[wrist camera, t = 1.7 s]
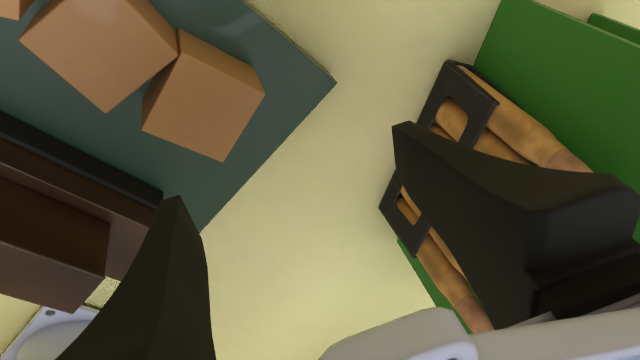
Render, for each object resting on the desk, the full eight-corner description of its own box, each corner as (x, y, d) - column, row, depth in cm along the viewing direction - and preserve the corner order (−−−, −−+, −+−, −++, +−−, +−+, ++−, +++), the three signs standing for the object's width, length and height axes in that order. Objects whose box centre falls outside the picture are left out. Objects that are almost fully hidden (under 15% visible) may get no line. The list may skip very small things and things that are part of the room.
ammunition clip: (446, 58, 26) (608, 179, 17) (472, 65, 27) (641, 183, 18) (377, 208, 31) (472, 364, 22) (401, 210, 32) (502, 361, 23)
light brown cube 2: (111, 84, 21) (105, 115, 18) (33, 15, 18) (16, 40, 16) (176, 31, 20) (179, 56, 18) (105, -47, 18) (98, -30, 15)
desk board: (164, 256, 29) (165, 270, 28) (-309, 63, 17) (-336, 75, 16) (330, 74, 25) (337, 83, 24) (-140, -335, 13) (-163, -348, 12)
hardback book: (505, -9, 25) (1574, 445, 6) (603, 15, 28) (1551, 382, 9) (397, 241, 34) (695, 733, 15) (479, 241, 37) (817, 658, 18)
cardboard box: (216, 131, 23) (223, 163, 21) (142, 99, 21) (140, 130, 19) (254, 67, 22) (266, 94, 20) (178, 27, 20) (181, 51, 18)
